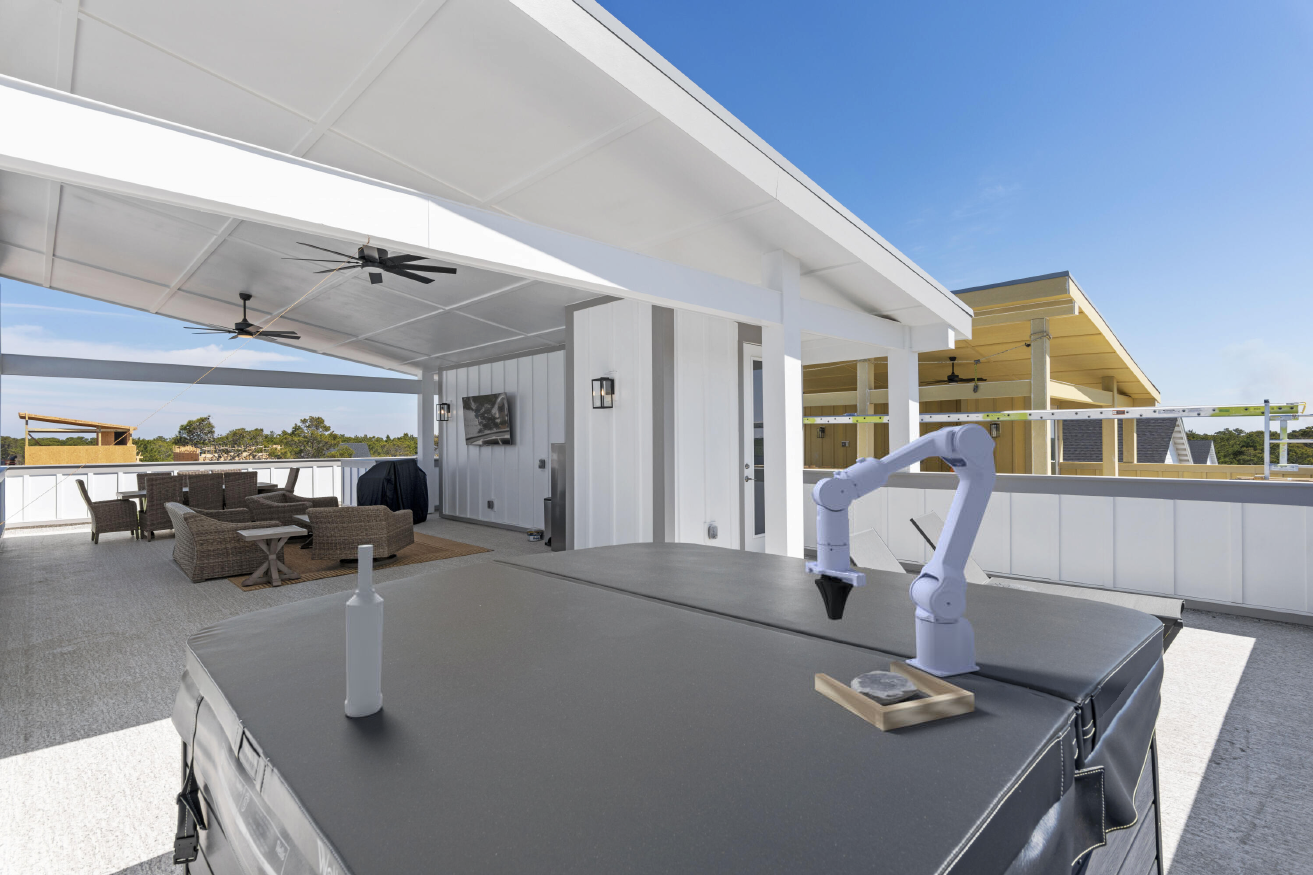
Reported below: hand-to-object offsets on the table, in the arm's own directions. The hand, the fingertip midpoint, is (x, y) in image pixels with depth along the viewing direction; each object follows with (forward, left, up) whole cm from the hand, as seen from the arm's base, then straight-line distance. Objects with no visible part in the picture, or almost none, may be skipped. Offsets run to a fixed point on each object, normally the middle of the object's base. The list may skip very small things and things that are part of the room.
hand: (835, 618), depth 104 cm
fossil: (+1, +13, -9) cm, 16 cm away
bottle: (+78, -12, -9) cm, 80 cm away
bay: (+1, +14, -9) cm, 17 cm away
